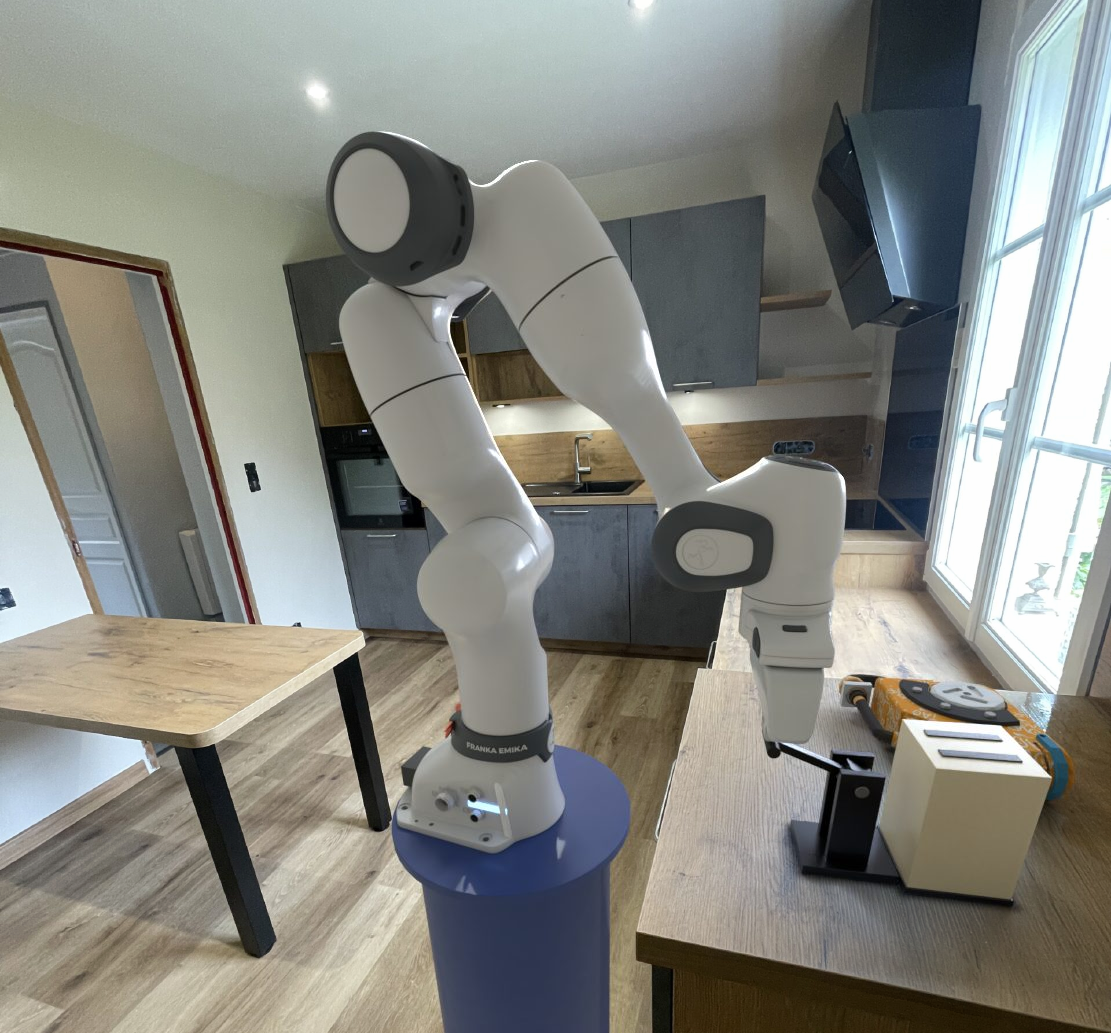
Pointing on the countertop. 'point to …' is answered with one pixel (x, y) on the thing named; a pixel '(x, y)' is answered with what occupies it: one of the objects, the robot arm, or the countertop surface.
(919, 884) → the toaster
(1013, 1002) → the countertop surface
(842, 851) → the lever bracket
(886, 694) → the device
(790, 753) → the lever
